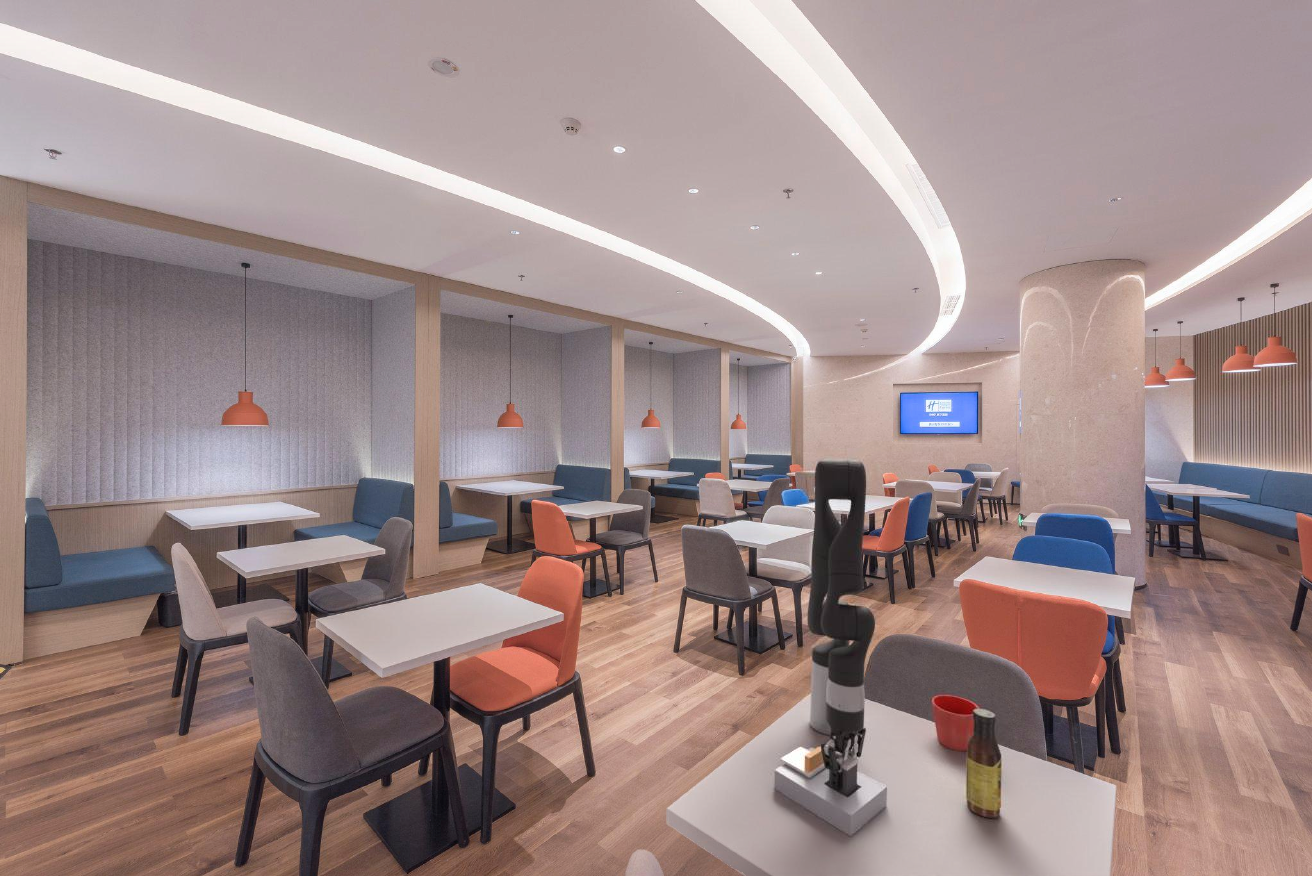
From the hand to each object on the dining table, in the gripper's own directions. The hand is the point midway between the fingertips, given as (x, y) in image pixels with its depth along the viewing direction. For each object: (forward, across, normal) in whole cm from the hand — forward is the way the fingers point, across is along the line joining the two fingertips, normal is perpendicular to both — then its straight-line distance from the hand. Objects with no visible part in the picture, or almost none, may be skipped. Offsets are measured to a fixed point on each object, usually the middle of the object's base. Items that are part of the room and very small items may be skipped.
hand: (842, 783), depth 114 cm
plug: (+3, 0, 0) cm, 3 cm away
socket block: (+4, 0, +3) cm, 5 cm away
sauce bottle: (+5, +22, -19) cm, 29 cm away
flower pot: (+5, +44, -5) cm, 45 cm away
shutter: (0, 0, +9) cm, 9 cm away
